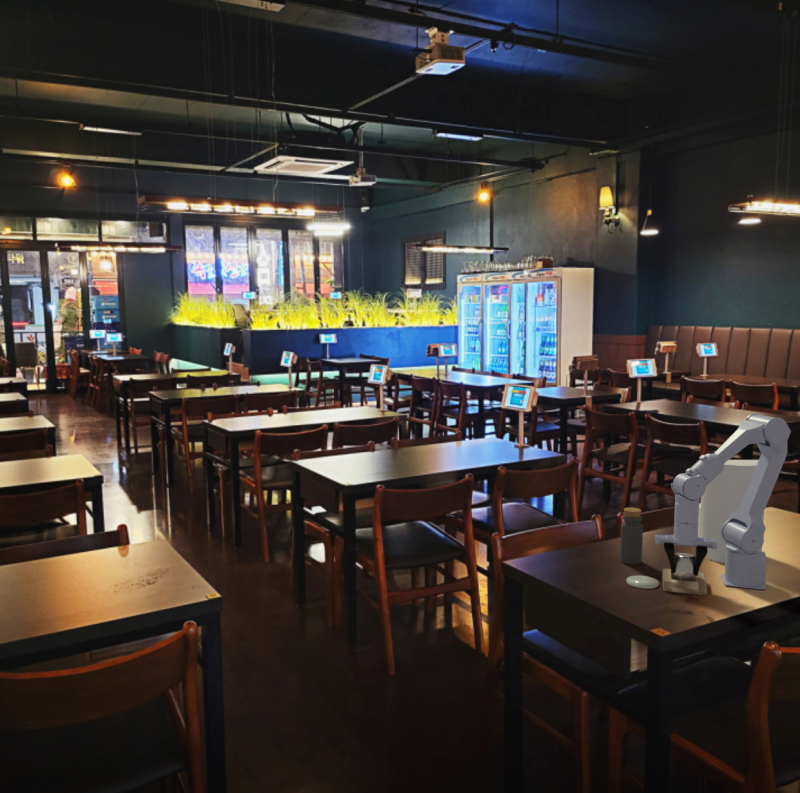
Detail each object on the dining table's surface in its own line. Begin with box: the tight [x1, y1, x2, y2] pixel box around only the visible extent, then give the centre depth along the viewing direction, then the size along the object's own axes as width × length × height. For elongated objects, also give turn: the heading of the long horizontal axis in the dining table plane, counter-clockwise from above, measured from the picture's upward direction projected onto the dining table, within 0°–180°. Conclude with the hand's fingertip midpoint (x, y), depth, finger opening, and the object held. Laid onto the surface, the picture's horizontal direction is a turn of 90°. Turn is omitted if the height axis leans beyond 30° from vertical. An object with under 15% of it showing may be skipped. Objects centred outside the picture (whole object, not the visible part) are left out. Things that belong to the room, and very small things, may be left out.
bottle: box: [619, 507, 644, 566], centre depth 205 cm, size 6×6×15 cm
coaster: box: [626, 575, 660, 590], centre depth 188 cm, size 8×8×1 cm
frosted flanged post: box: [673, 552, 696, 582], centre depth 186 cm, size 5×5×8 cm
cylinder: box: [698, 459, 765, 564], centre depth 210 cm, size 17×17×28 cm
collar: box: [661, 568, 708, 596], centre depth 186 cm, size 10×10×2 cm
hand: (684, 573), depth 186 cm, fingers closed on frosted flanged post, 5 cm apart
